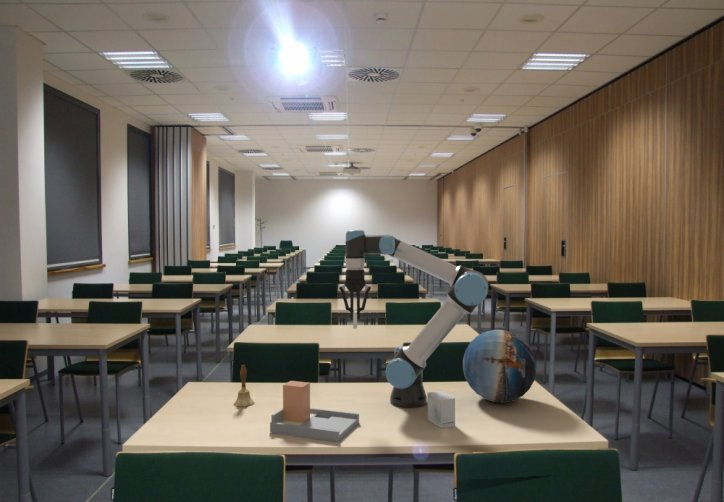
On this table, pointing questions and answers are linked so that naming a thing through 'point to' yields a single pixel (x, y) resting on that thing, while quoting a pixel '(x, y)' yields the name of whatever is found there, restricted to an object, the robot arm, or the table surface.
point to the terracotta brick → (296, 401)
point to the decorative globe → (499, 366)
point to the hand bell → (243, 391)
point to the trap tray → (316, 424)
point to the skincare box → (441, 409)
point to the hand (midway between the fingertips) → (355, 327)
